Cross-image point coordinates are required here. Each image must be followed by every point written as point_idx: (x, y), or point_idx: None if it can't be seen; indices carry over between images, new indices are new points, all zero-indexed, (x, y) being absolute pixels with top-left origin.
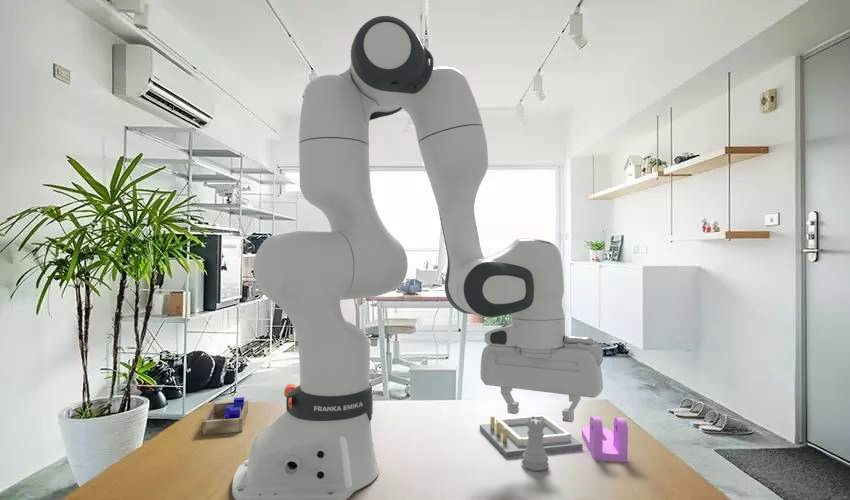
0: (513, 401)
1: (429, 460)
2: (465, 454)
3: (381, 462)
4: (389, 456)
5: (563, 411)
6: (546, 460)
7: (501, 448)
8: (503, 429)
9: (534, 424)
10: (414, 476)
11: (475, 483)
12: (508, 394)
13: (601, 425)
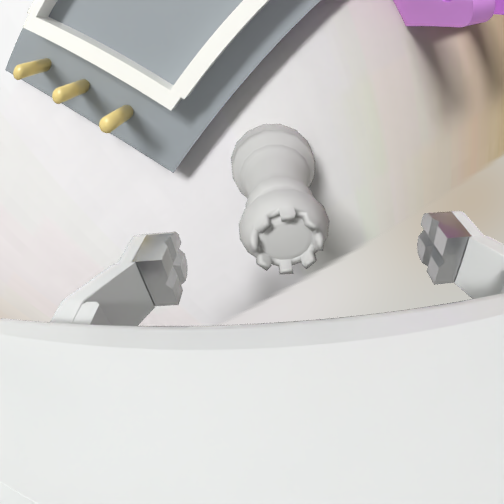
0: (138, 273)
1: (77, 281)
2: (93, 217)
3: None
4: (37, 303)
5: (438, 282)
6: (313, 174)
7: (143, 151)
8: (106, 131)
9: (292, 264)
10: None
11: (203, 302)
12: (109, 315)
13: (489, 17)
